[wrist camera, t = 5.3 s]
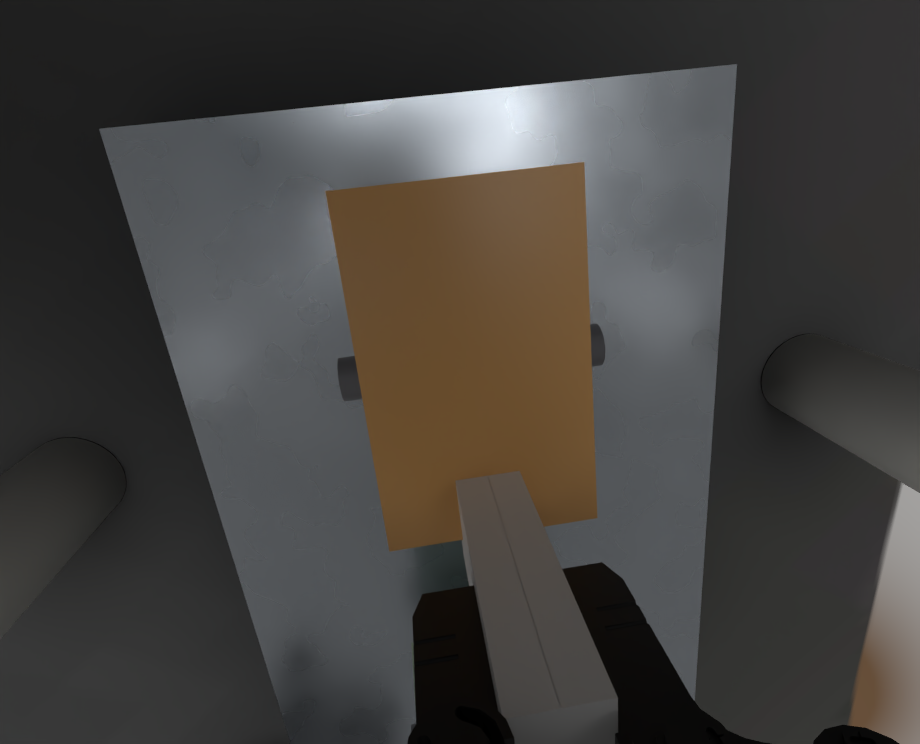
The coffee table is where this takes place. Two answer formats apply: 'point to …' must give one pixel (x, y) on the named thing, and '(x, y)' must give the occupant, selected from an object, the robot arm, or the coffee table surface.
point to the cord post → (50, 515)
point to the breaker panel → (328, 338)
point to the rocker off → (471, 341)
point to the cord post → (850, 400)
